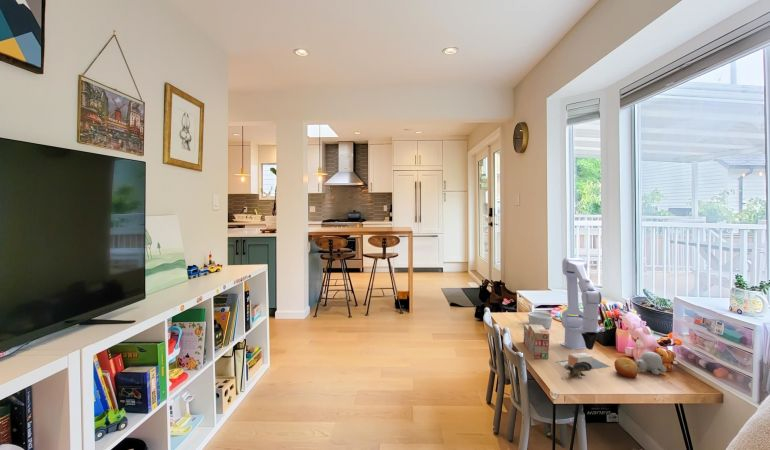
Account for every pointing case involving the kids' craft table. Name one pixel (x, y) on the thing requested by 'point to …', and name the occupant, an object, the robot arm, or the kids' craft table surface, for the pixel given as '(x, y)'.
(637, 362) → the toy rhinoceros
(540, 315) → the ramekin
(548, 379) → the kids' craft table surface
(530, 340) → the stack of blocks
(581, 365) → the squirrel figurine
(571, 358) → the tall block
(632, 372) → the fruit
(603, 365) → the mat
